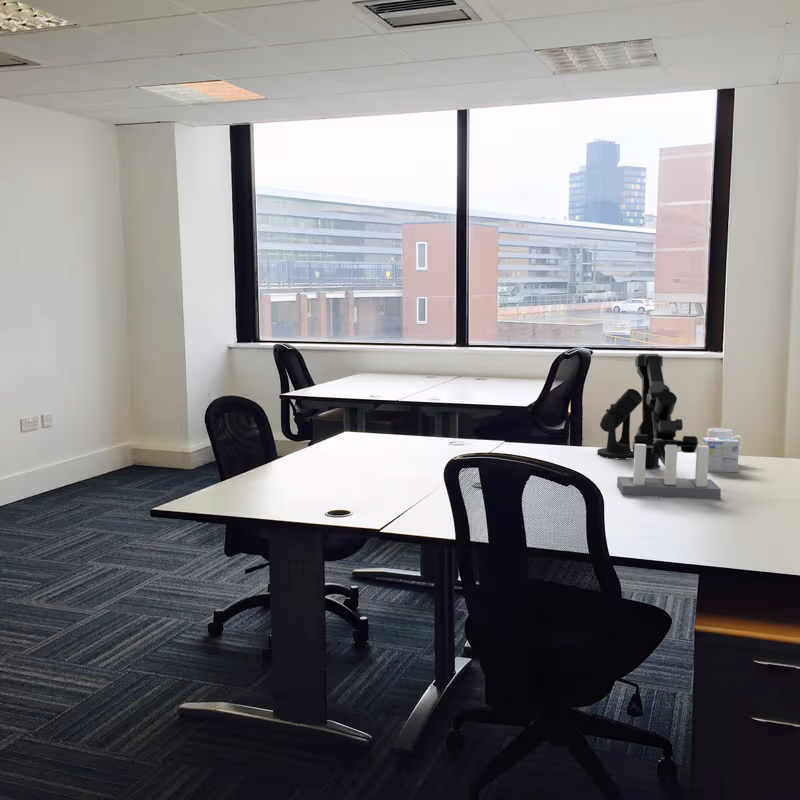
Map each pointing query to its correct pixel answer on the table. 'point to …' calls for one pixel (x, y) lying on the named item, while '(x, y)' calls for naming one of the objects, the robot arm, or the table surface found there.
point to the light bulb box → (722, 454)
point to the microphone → (613, 420)
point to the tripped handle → (670, 465)
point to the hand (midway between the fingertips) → (667, 467)
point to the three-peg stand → (656, 486)
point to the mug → (722, 434)
